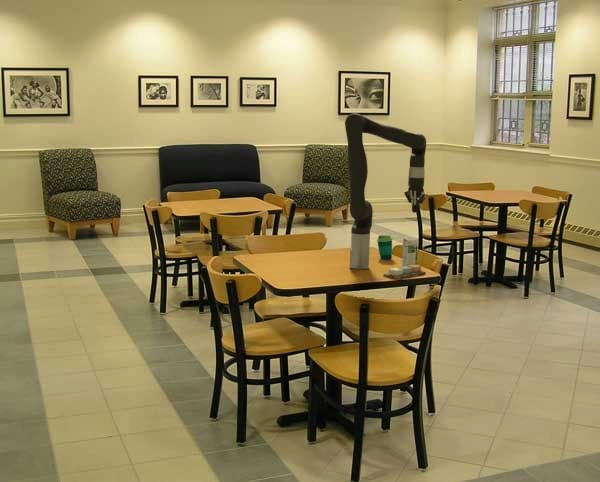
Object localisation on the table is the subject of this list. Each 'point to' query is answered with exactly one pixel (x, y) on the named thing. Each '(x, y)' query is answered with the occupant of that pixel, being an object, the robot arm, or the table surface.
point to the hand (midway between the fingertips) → (414, 212)
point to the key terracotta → (415, 268)
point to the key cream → (395, 271)
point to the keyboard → (405, 275)
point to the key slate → (406, 269)
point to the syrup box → (409, 251)
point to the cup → (385, 247)
